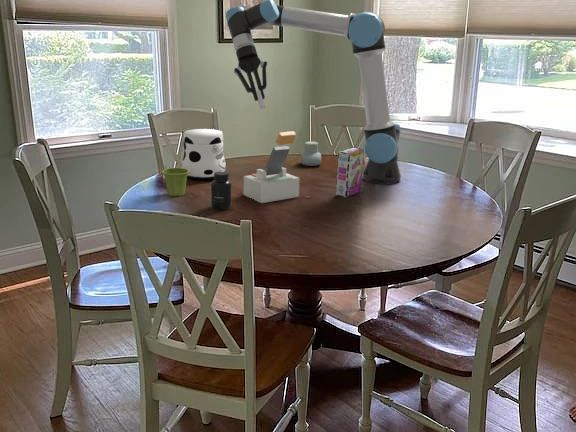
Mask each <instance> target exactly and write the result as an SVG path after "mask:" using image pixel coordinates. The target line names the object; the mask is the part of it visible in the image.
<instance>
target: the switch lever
mask: <svg viewBox="0 0 576 432" xmlns="http://www.w3.org/2000/svg"><path fill="white" fill-rule="evenodd" d="M296 136H297V133H296V132H295V131H294V130H292V131H291V130H290V131H283V132H281V131H279V132H278V134H277V136H276V139H275V143H276V145H278V146H273V147H272V150H271V152H270V155H269V158H268V160H267V163H266V166H265V168H264V170H265V171H266V175H273V174H280V171H281V169H282V167H283V166H284V164H285V162H286V159H287V157H288V155H289V154H290V153H289V152H290V150H291V148H290V146H289V145H291V144H293V143H294V141H295V138H296ZM288 144H289V145H288Z"/></svg>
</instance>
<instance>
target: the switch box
mask: <svg viewBox="0 0 576 432" xmlns="http://www.w3.org/2000/svg"><path fill="white" fill-rule="evenodd" d="M243 195H244V196H246V197H247V198H250V199H251V198H252V199H251V200H253V199H254V201H256V202H258V203H259V204H264V203H265V204H266V203H269V202H270V203H271V202H275V201H283V200H288V199H294V198H299V196H300V177H298V176H295V175H293V174H290V173H287V168H286V167H282V169H281V171H280V174H273V175H266V171H265V169H262V168H257V169H256V172H255V173H251V174H249V175H244V176H243Z"/></svg>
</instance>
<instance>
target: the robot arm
mask: <svg viewBox="0 0 576 432" xmlns="http://www.w3.org/2000/svg"><path fill="white" fill-rule="evenodd" d="M225 18H226V24H227V28H228V30H229V33H230V36H231V40H232V43H233V46H234V47H233V48H234V51H235V55H236V57H237V61H238V63H237V64H238V65H237V67H235V68H234V72H233V73H234V74H235V76H237V77H238V78H239V80H240V82H241V83H242V85H243V87H244V89H245V90H246V91H245V92H246V93H247V94H248V93H249V94H250V93H251V94H252V96H253V98H254V99H253V100H254V101H255V102H257V104H258V105H259V106H258V107H259V110H260V111H261V110H264V109H265V108H266V107H265V103H264V100H265V99H266V98H265V97H266V96H265V92H264V90H266V89H267V84H268V83H267V66H268V61H262V60H261V59H260V57H259V55H258V53H257V48H256V46H255V41H254V38H253V35H252V32H251V31H252V30H253V31H254V30H255V29H258V28H259V27H263V26H268V25H270V26H277V27H283V28H290V29H297V30H302V31H310V32H317V33H322V34H329V35H335V36H336V35H337V36H341V37H342V36H343V37H345V38H346V40H348V41H351V47H352V55H353V56H355V57H356V58H357V60H358V68H359V74H360V80H361V81H360V82H361V90H362V95H363V104H364V111H365V118H366V125H365V126H364V128H363V133H364V142H365V143H364V154H365V155H366V157H367V158H368V159H367V163H366V166H365V167H364V170H363V171H362V180H364V181H366V182H368V183H372V184H378V183H383V184H382V185H387V184H386V183H393V184H396V183H395V182H398V181H400V182H401V177H402V175H401V171H400V166H399V162H398V161H399V159H398V157H399V148H400V138H401V137H400V135H401V126H400V124H399V123H394V122H393V121H392V120H391V117H390V108H389V104H388V103H389V101H388V95H387V92H388V91H387V85H386V78H385V77H386V76H385V71H384V70H385V69H384V62H383V61H384V60H383V53H384V51H386V43H385V35H384V34H385V31H386V30H385V29H386V28H385V22H384V20H383V18H381V16H379V15H378V14H376V13H374V12H370V11H363V12H361V13H354V12H351V13H350V14H348V15H347V14H342V13H341V14H340V13H333V12H326V11H321V10H320V11H319V10H312V9H306V8H298V7H293V6H292V7H291V6H283V5H277V4H276V2H275V1H274V0H263V1H261V2H260V3H257V4H255V5H253V6H251V7H249V8H247V9H245V8H244V7H242V6H239V5H238V6H235V7H231V8H229V9H228V10H227V11H225ZM259 67H260V68H261V74H262V75H261V76H262V77H261V78H262V81H261V78H260V75H259V72H258V71H259ZM242 71H243V73H245V74H246V76H247V80H248V82H247V80H246V78H245V76H244V75H243V73H242ZM252 73H253V75H252ZM253 77H254V78H255V79H253ZM254 80H255V82H254ZM248 83H249V84H248ZM255 84H256V86H255ZM256 87H257V89H258V90H257V89H256ZM398 183H399V182H398Z"/></svg>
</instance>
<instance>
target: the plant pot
mask: <svg viewBox="0 0 576 432" xmlns="http://www.w3.org/2000/svg"><path fill="white" fill-rule="evenodd" d="M188 173H189V170H188V169H185V168H182V167H169V168H165V169H162V174H163V177H164V180H165V186H166V190H167V195H168V196H170V197H171V196H172V197H177V196H179V197H182V196H184V195H186V187H187V179H188ZM181 195H182V196H181Z"/></svg>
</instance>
